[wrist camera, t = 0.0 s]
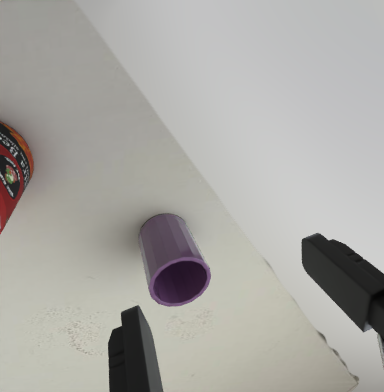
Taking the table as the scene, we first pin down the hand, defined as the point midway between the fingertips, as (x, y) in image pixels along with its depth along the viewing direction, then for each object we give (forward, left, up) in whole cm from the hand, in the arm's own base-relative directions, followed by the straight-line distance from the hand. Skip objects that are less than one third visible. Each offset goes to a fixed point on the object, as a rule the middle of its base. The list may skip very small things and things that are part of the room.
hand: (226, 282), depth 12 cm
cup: (+6, -8, -18) cm, 21 cm away
